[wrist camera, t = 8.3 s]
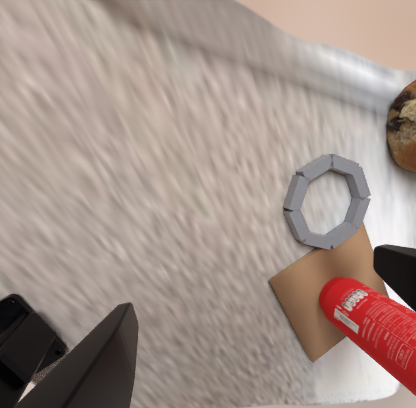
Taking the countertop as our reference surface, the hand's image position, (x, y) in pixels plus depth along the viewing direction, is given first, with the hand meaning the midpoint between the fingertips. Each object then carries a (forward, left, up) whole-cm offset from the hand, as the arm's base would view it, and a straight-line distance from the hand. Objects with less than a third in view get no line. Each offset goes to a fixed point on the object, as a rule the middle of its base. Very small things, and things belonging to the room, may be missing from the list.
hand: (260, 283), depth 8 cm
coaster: (+9, -16, -12) cm, 22 cm away
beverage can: (+9, -16, -12) cm, 22 cm away
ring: (+12, -6, -12) cm, 18 cm away
